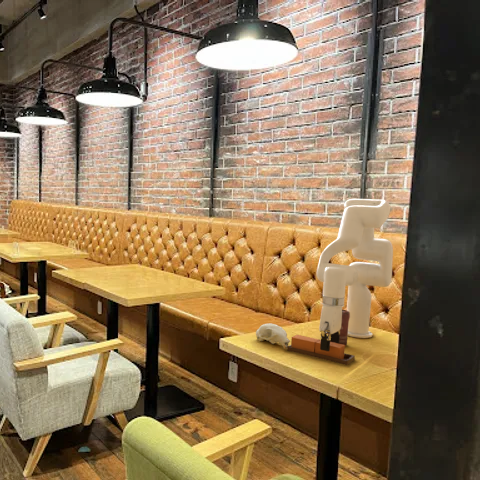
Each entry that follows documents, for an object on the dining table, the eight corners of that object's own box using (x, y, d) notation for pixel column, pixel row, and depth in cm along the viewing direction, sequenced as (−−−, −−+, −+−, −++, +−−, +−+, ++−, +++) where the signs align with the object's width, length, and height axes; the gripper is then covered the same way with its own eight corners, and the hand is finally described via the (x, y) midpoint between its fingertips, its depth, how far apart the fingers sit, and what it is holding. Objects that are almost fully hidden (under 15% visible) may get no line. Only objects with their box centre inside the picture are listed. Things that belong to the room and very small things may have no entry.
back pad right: (319, 352, 181) (320, 339, 181) (344, 358, 176) (345, 344, 175) (314, 355, 178) (315, 342, 177) (339, 361, 172) (340, 347, 171)
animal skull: (273, 352, 180) (270, 325, 182) (253, 349, 196) (250, 324, 197) (297, 349, 183) (294, 322, 185) (276, 346, 199) (273, 321, 200)
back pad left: (296, 347, 187) (297, 334, 187) (319, 352, 181) (319, 339, 181) (290, 349, 183) (291, 337, 183) (313, 355, 178) (314, 342, 177)
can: (348, 347, 190) (351, 312, 189) (331, 346, 192) (334, 311, 190) (346, 343, 196) (348, 309, 195) (329, 341, 198) (332, 308, 196)
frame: (296, 347, 189) (296, 342, 189) (354, 361, 175) (354, 355, 175) (287, 351, 182) (287, 346, 182) (346, 366, 168) (347, 361, 168)
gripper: (331, 296, 184) (328, 340, 185) (313, 302, 170) (310, 350, 172) (351, 299, 179) (348, 344, 181) (335, 306, 166) (331, 355, 167)
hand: (329, 347), depth 176 cm, fingers open, 9 cm apart
